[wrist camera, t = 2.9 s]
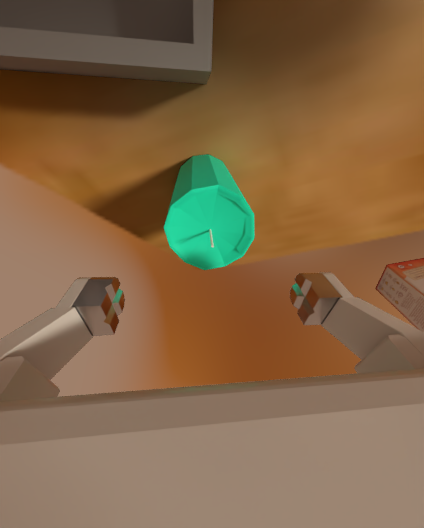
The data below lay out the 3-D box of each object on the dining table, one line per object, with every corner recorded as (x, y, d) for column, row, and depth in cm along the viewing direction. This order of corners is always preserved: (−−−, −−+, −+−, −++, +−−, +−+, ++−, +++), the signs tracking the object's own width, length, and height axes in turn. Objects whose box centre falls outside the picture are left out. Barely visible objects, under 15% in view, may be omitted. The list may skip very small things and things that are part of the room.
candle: (225, 214, 23) (247, 286, 13) (174, 208, 22) (160, 280, 13) (237, 159, 19) (279, 203, 10) (177, 148, 18) (159, 186, 9)
